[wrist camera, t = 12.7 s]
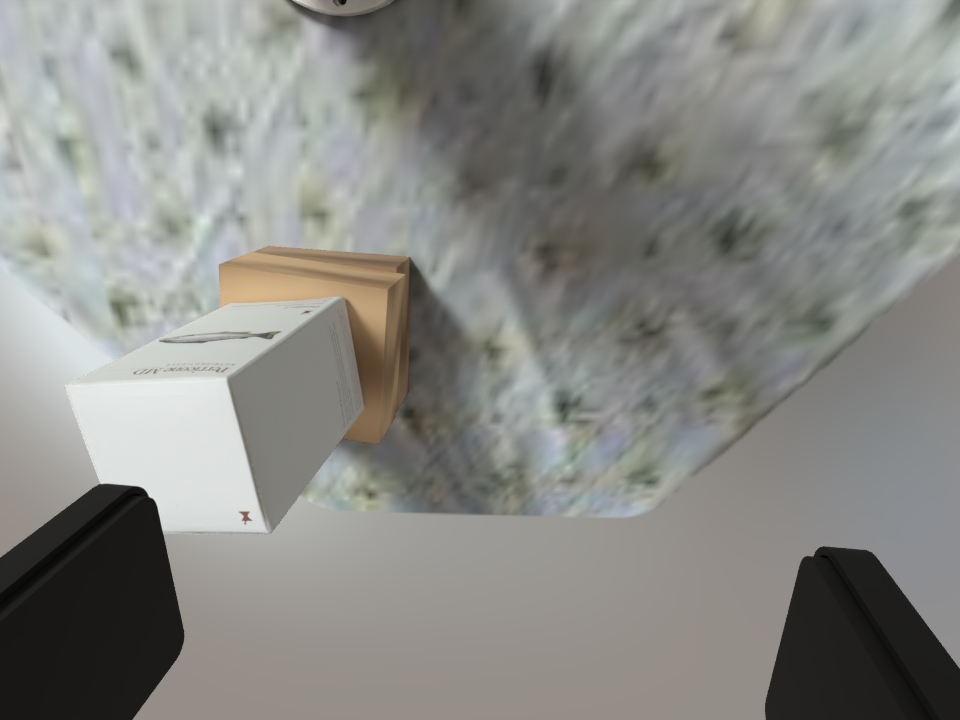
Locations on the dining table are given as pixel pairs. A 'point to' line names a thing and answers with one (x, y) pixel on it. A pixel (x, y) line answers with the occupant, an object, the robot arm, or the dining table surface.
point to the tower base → (368, 262)
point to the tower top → (369, 311)
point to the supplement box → (225, 413)
